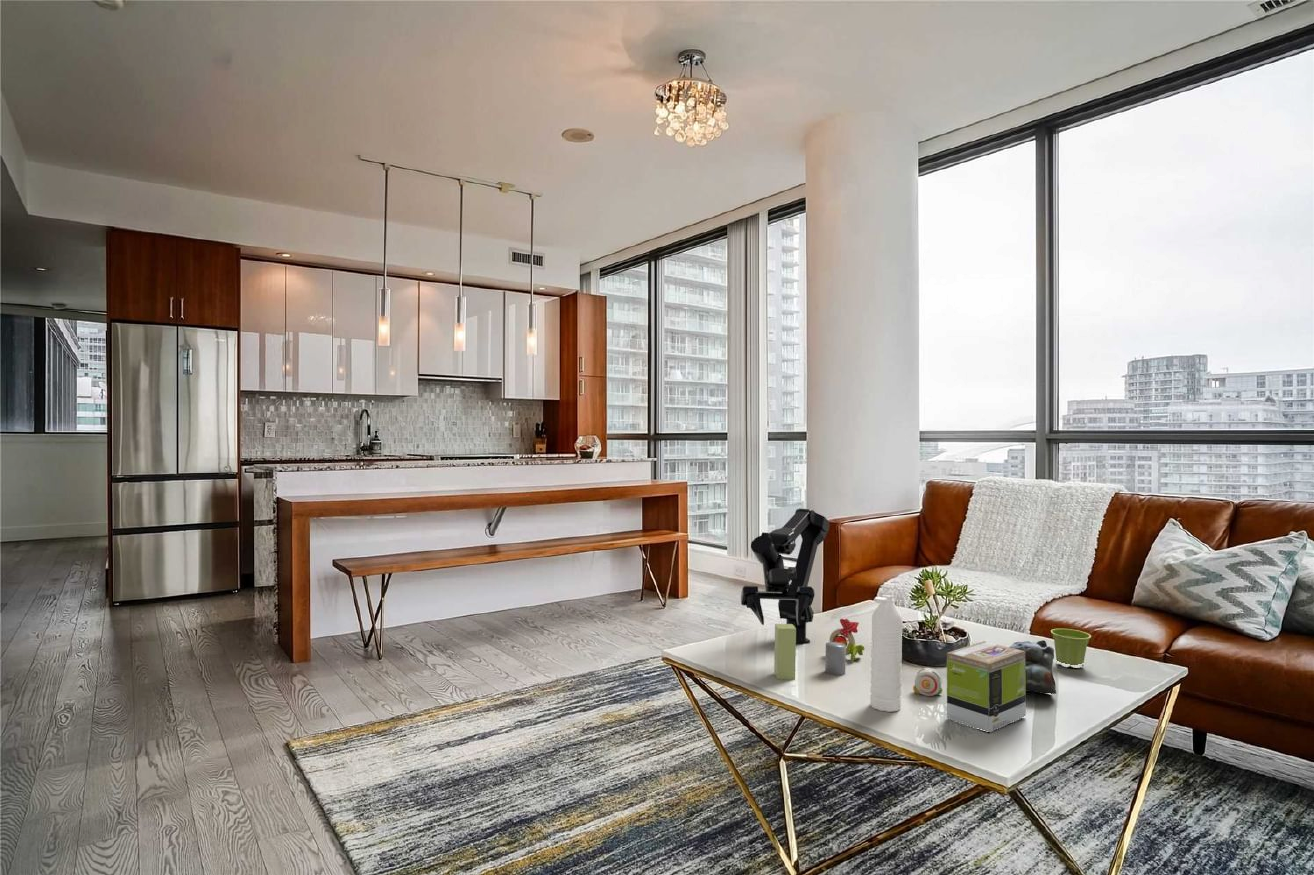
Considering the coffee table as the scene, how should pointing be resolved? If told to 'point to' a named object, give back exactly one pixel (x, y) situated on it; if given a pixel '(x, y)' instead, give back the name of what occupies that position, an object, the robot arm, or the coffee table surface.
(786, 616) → the robot arm
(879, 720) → the coffee table surface
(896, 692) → the water bottle
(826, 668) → the grey cylinder
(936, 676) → the roller toy
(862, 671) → the coffee table surface
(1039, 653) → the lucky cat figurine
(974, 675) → the tea box
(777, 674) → the olive brick
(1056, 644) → the plant pot
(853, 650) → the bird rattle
